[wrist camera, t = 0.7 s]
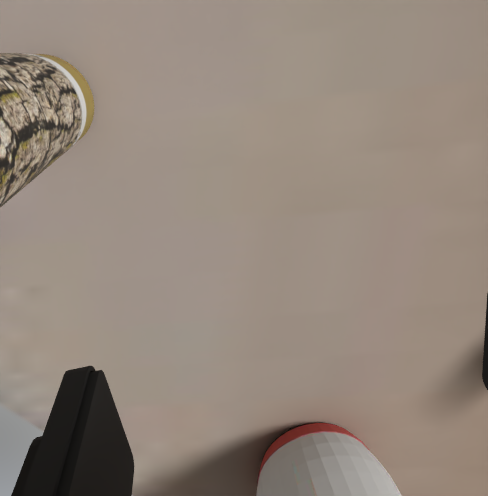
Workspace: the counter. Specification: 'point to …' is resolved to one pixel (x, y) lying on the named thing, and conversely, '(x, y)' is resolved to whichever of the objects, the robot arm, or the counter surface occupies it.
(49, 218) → the counter surface
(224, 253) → the counter surface
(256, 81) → the counter surface
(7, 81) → the paper tube
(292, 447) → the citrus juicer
